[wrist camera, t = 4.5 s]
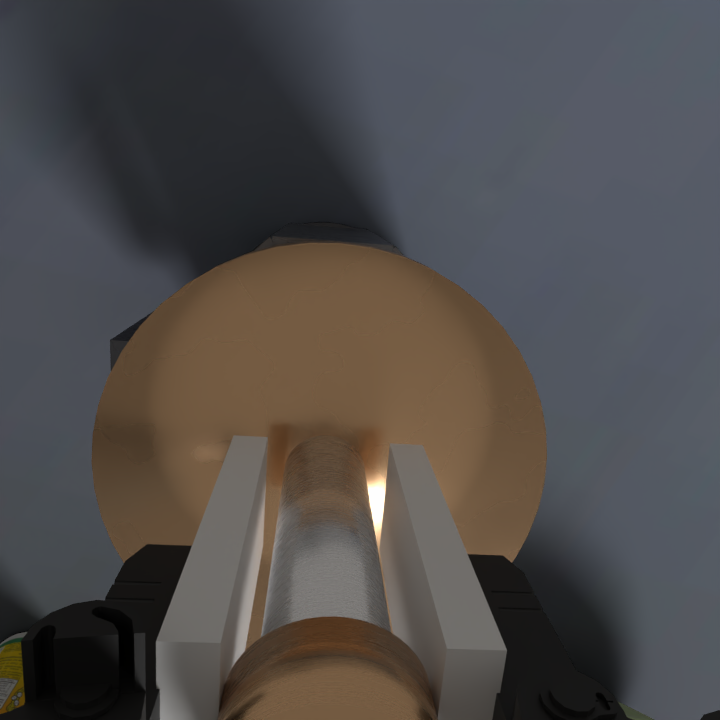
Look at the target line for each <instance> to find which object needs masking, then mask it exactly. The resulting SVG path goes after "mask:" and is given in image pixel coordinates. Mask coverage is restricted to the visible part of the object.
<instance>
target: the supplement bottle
mask: <svg viewBox="0 0 720 720" xmlns="http://www.w3.org/2000/svg"><path fill="white" fill-rule="evenodd" d="M26 633H27V632H23V633H18V634H15V635H13V636H11V637H9V638H7V639H6V640H4V641H3V642H2V643H1V644H0V714H2V713H5V712H9V711H12V710H14V709H16V708H18V707H20V706H22V705H24V703H25V695H24V681H23V666H22V652H21V640H22V639H23V637H24V636H25V635H26Z"/></svg>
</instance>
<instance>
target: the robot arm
mask: <svg viewBox="0 0 720 720" xmlns="http://www.w3.org/2000/svg"><path fill="white" fill-rule="evenodd" d="M267 446H268V437H256V436H237V435H234V436H233V439H232V441H231V444H230V446H229V449H228V452H227V454H226V457H225V460H224V462H223V465H222V468H221V470H220V473H219V476H218V478H217V481H216V484H215V486H214V489H213V492H212V494H211V497H210V500H209V502H208V505H207V507H206V510H205V513H204V515H203V518H202V521H201V523H200V526H199V529H198V531H197V534H196V537H195V539H194V542H193V545H192V546H187V545H160V544H146V545H145V546H144V547H143V548H141V549H140V550H139V551H137V552H136V553H135V554H134V555H132V556H131V557H130V558H128V559H127V560H126V561H125V563H124V565H123V566H122V568H121V570H120V572H119V574H118V576H117V577H116V579H115V583H114V585H112V587H111V588H110V590H109V592H108V594H107V596H106V598H105V601H102V600H94V601H88V602H82V603H76V604H72V605H70V606H67V607H64V608H62V609H59V610H57V611H54V612H52V613H50V614H49V615H47V616H46V617H44V618H43V619H41V620H40V621H38V622H37V623H36V624H34V625H33V626H32V627H31V628H30V630H29V631H28V632H27V633H26V635H25V636H24V637H23V639H22V640H21V652H22V666H23V681H24V695H25V703H24V705H22V706H20V707H18V708H16V709H14V710H12V711H9V712H5V713H2V714H0V720H217V718H218V714H219V710H220V705H221V700H222V695H223V690H224V685H225V681H226V679H227V677H228V675H229V672H230V670H231V669H232V667H233V666H234V664H235V663H236V661H237V660H238V659H239V657H240V656H241V655H242V654H243V653H244V652H245V648H246V642H247V636H248V630H249V624H250V619H251V613H252V607H253V601H254V595H255V589H256V584H257V578H258V572H259V566H260V560H261V554H262V549H263V535H264V513H265V491H266V468H267ZM379 551H380V557H381V563H382V569H383V575H384V581H385V587H386V594H387V600H388V606H389V612H390V618H391V624H392V630H393V634H394V635H396V636H397V637H399V638H400V639H401V640H402V641H403V642H405V643H406V644H407V645H408V646H409V647H410V648H411V649H412V651H413V652H414V653H415V654H416V655H417V657H418V658H419V660H420V661H421V663H422V664H423V667H424V669H425V671H426V673H427V676H428V679H429V683H430V687H431V691H432V696H433V700H434V705H435V709H436V714H437V718H438V720H633V719H630V718H628V717H627V716H626V714H625V712H624V710H623V709H622V707H621V706H620V704H619V703H618V701H617V700H616V698H615V697H614V695H613V694H611V693H610V692H609V691H608V690H607V689H606V688H604V687H603V686H602V685H601V684H600V683H599V682H597V681H596V680H594V679H592V678H590V677H588V676H586V675H584V674H582V673H580V672H578V671H576V670H575V668H574V666H573V664H572V662H571V660H570V658H569V657H568V655H567V653H566V651H565V649H564V647H563V645H562V644H561V642H560V640H559V638H558V636H557V634H556V632H555V631H554V629H553V627H552V625H551V623H550V621H549V620H548V618H547V616H546V614H545V613H543V608H542V607H541V605H540V603H539V601H538V599H537V597H536V596H534V592H533V590H532V588H531V586H530V584H529V583H528V581H527V579H526V577H525V575H524V573H523V572H522V571H521V570H520V569H518V568H517V567H516V566H515V565H514V564H513V563H511V562H510V561H509V560H508V559H507V558H505V557H504V556H503V555H479V554H467V552H466V549H465V547H464V544H463V542H462V540H461V537H460V535H459V532H458V530H457V527H456V525H455V522H454V520H453V518H452V515H451V513H450V510H449V508H448V505H447V503H446V501H445V498H444V496H443V493H442V491H441V488H440V486H439V484H438V481H437V479H436V476H435V474H434V471H433V469H432V466H431V464H430V462H429V459H428V457H427V454H426V452H425V449H424V447H423V445H411V444H391V443H390V447H389V457H388V467H387V477H386V488H385V498H384V508H383V518H382V528H381V538H380V549H379ZM701 720H720V710H718V711H715V712H712V713H708V714H705V715H703V717H702V718H701Z"/></svg>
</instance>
